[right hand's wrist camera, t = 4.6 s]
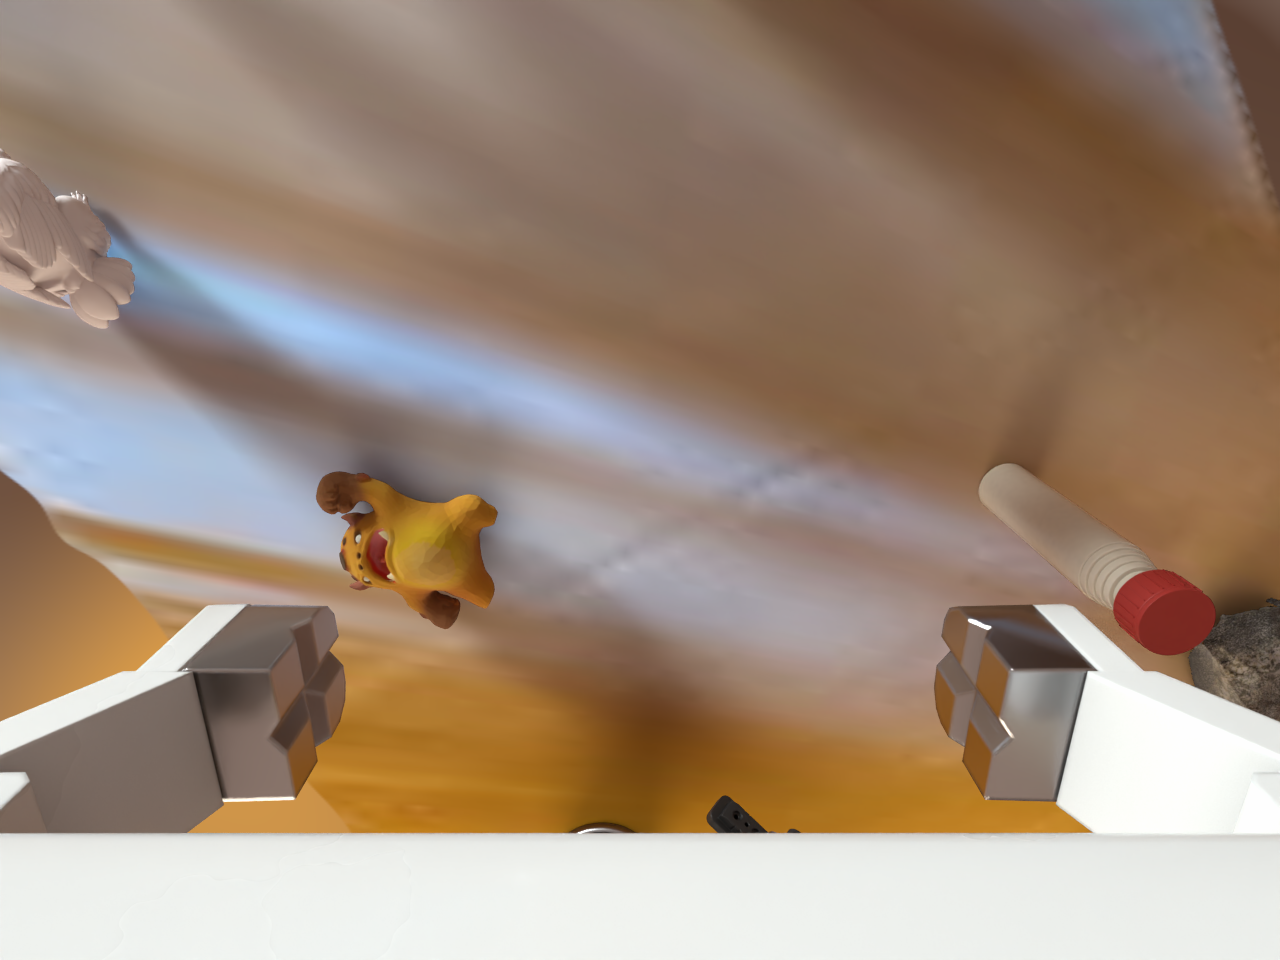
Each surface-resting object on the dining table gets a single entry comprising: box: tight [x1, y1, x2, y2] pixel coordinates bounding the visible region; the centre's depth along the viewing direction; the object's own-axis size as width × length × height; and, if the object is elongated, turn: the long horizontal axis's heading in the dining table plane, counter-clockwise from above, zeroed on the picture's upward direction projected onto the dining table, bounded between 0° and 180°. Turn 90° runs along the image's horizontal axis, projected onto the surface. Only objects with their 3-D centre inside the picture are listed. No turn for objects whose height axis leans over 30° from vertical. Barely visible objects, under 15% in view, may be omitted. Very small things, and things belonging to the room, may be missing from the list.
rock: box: [1188, 598, 1280, 722], centre depth 63 cm, size 13×9×6 cm, turn 27°
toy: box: [316, 472, 498, 629], centre depth 59 cm, size 11×6×15 cm
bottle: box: [979, 463, 1158, 610], centre depth 51 cm, size 4×4×20 cm
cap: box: [1113, 569, 1216, 655], centre depth 42 cm, size 4×4×2 cm
